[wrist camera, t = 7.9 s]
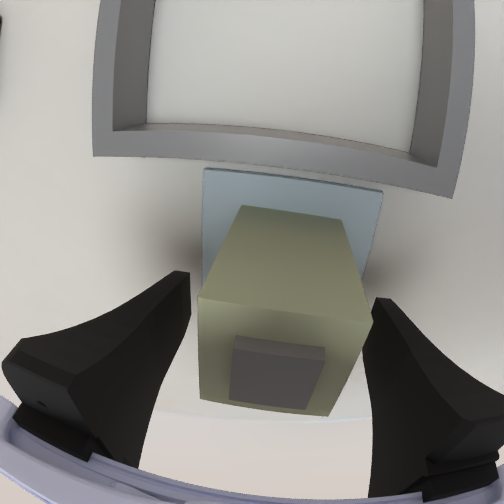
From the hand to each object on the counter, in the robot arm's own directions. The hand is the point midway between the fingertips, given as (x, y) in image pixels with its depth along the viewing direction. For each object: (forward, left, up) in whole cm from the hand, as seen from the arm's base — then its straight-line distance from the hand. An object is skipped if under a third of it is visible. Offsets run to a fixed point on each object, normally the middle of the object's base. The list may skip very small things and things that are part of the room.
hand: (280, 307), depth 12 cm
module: (0, 0, -4) cm, 4 cm away
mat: (0, 0, -4) cm, 4 cm away
